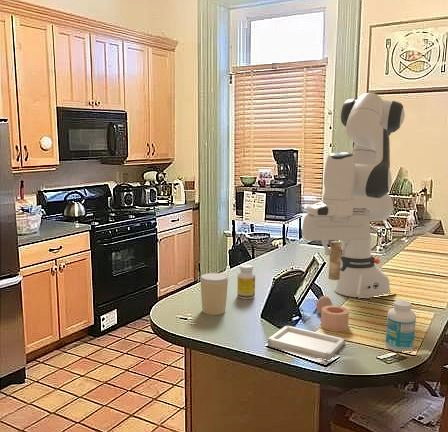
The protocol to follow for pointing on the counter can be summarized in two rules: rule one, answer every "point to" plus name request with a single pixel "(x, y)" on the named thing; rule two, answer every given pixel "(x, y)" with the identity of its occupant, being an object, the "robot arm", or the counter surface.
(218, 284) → the coffee cup
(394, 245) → the counter surface
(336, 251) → the dowel
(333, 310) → the cup
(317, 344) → the tray
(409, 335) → the pill bottle
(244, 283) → the pill bottle
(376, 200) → the robot arm
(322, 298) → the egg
